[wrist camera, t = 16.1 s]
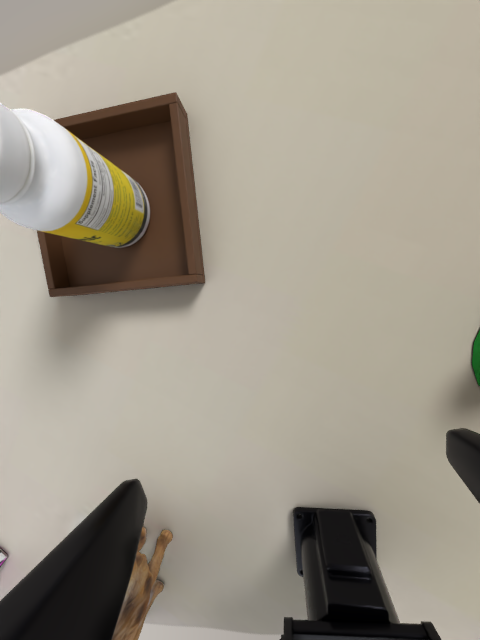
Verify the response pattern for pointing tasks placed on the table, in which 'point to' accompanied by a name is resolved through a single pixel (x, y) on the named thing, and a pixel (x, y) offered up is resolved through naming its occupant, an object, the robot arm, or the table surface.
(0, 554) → the candy bar box
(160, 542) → the lion figurine
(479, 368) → the toy figurine
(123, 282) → the tray
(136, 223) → the supplement bottle
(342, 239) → the table surface
